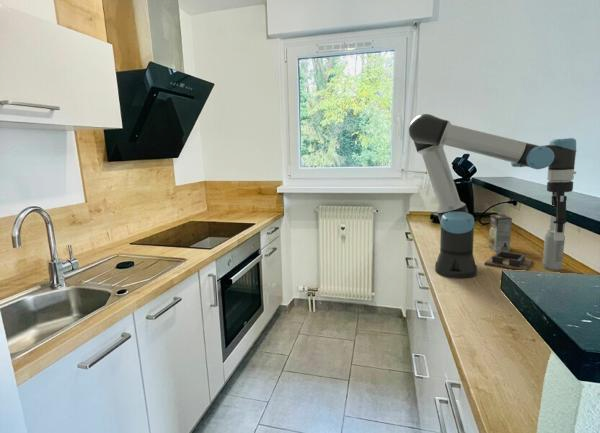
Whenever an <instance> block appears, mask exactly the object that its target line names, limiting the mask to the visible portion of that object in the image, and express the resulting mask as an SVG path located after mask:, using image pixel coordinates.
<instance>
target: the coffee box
mask: <svg viewBox="0 0 600 433" xmlns="http://www.w3.org/2000/svg"><path fill="white" fill-rule="evenodd" d="M512 220H513V218H512V217H510V216H509V215H506V214H490V215H489V234H488V247H489V248H490V249H491V250H493V252H496V253H497V252H498V251H504V252H510V248H511V236H512V235H511V234H512V233H511V232H512V222H513V221H512Z"/></svg>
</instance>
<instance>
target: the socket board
mask: <svg viewBox="0 0 600 433" xmlns="http://www.w3.org/2000/svg"><path fill="white" fill-rule="evenodd" d="M526 255H527V254H522V253H518V252H516V253H515V252H510V251H509V252H504V251H498V252H496V253H494V254H493V255H492V256H491V257H490V258H488V259H487V260H486V261H484V263H483V264H484V266H489V267H493V268H494V267H495V268H499V269H503V270H509V269H511V270H510V271H515V270H526V271H527V270H528V269H529V267H530V266H531V265H532V264H533V261H534V260H533V259H529V258H528V259H527V258H526Z"/></svg>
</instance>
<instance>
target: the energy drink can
mask: <svg viewBox="0 0 600 433" xmlns="http://www.w3.org/2000/svg"><path fill="white" fill-rule="evenodd" d="M554 231H555V230H549V229H548V230H547V231H546V233H545V235H544V244H543V254H542V264H541V265H542V266H543V269H545V270H549V271H553V270H558V271H560V270H561V269H562V268H563V260H564V252H565V251H564V249H565V239H566V236H565V235H564V241H555V240H554Z"/></svg>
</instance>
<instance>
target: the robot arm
mask: <svg viewBox="0 0 600 433" xmlns="http://www.w3.org/2000/svg"><path fill="white" fill-rule="evenodd" d="M408 134H409V137H410V138H411V139H412V141H413V144H414V146H415V149H416V152H417V153H418V154H420V155H421V156H422V158H423V162H424V165H425V169H426V171H427V174H428V177H429V180H430V183H431V187H432V189H433V193H434V195H435V199H436V201H437V205H438V207H437V210H436V213H437V217H438V220H439V223H440V238H439V239H440V241H439V242H440V246H439V247H440V248H439V250H440V252H439V254H438V257H437V261H436V262H435V265H434V266H435V267H434V270H435V272H436V273H437V274H439V275H440V276H444V277H448V278H453V279H470V278H471V279H472V278H474V277H476V276H477V274H478V266H477V265H476V262H475V261H476V260H475V258H474V235H475V233H474V232H475V223H476V222H475V218H474V215H472V214H471V213H469V209H468V208H467V204H466V203H464V202H463V201H461V199H460V196H459V192H458V190H457V186H456V184H455V181H454V177H453V174H452V172H451V168H450V166H449V162H448V158H447V155H446V153H445V150H444V146H448V147H452V148H454V149H455V148H456V149H459V150H463V151H467V152H470V153H474V154H478V155H482V156H485V157H490V158H494V159H497V160H502V161H504V162H505V161H506V162H509V163H510V165H511V167H512V168H523V167H526V168H531V169H533V170H534V169H535V170H542V169H545V168H547V177H546V178H547V180H548V181H547V184H546V190H547V192H549V193H552V195H551V202H550V203H552V205H554V208H555V209H556V217H554V216H552V215H549V216H550V217H549V229H548V230H555V231H554V240H555V241H564V236H565V226H566V225H565V224H566V223H567V198H568V197H567V195H565V193H570V192H572V191H573V190H574V189H573V188H574V182H573V180H574V176H575V175H576V174H577V171H575V164H576V156H577V140H576V139H575V138H573V137H570V138H569V137H568V138H557V139H555V138H554V139H551V140H550V142H549V144H547V145H537V144H534V143H533V144H532V143H528V142H526V141H520V140H516V139H512V138H508V137H504V136H501V135H496V134H492V133H488V132H485V131H480V130H479V131H478V130H475V129H471V128H467V127H463V126H459V125H454V124H452V123H451V121H450V120H446V119H443V118H439V117H438V116H434V115H432V114H429V113H423V114H419V115H417V116H416V117H415V118H413V119H412V121H411V122H410V124H409V127H408ZM564 242H565V241H564Z"/></svg>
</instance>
